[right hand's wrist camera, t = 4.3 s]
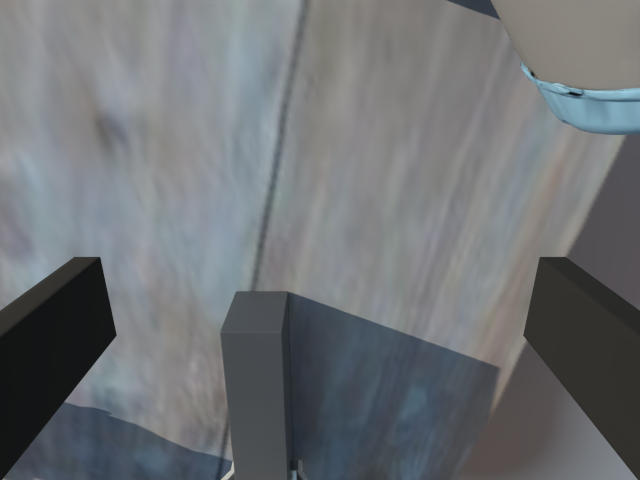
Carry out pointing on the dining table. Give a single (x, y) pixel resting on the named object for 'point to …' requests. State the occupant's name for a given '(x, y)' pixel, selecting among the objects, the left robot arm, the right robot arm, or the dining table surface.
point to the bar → (259, 385)
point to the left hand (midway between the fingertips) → (268, 463)
